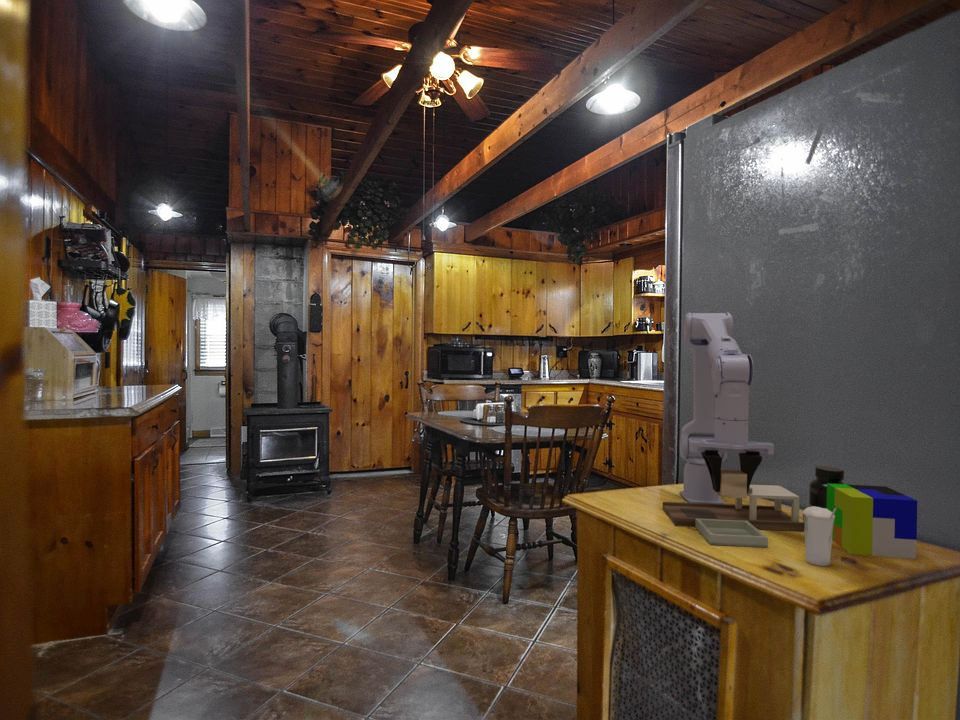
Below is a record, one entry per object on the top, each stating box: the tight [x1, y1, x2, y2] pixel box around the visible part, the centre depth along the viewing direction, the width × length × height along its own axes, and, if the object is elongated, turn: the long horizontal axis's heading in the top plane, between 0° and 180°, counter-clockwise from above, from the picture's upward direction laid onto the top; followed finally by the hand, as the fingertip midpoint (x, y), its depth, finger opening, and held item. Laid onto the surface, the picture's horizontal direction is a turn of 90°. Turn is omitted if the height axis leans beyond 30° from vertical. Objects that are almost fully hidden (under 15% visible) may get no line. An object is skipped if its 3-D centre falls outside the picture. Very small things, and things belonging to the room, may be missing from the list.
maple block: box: [714, 468, 748, 499], centre depth 102 cm, size 4×4×4 cm
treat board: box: [662, 501, 804, 532], centre depth 113 cm, size 12×24×2 cm, turn 83°
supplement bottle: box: [807, 465, 846, 509], centre depth 108 cm, size 7×7×12 cm
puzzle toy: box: [827, 483, 918, 560], centre depth 98 cm, size 10×10×10 cm
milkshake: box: [802, 506, 837, 567], centre depth 90 cm, size 4×5×10 cm
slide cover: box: [734, 484, 800, 522], centre depth 113 cm, size 9×10×6 cm
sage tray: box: [694, 519, 769, 549], centre depth 102 cm, size 10×10×2 cm
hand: (730, 491), depth 102 cm, fingers closed on maple block, 4 cm apart
